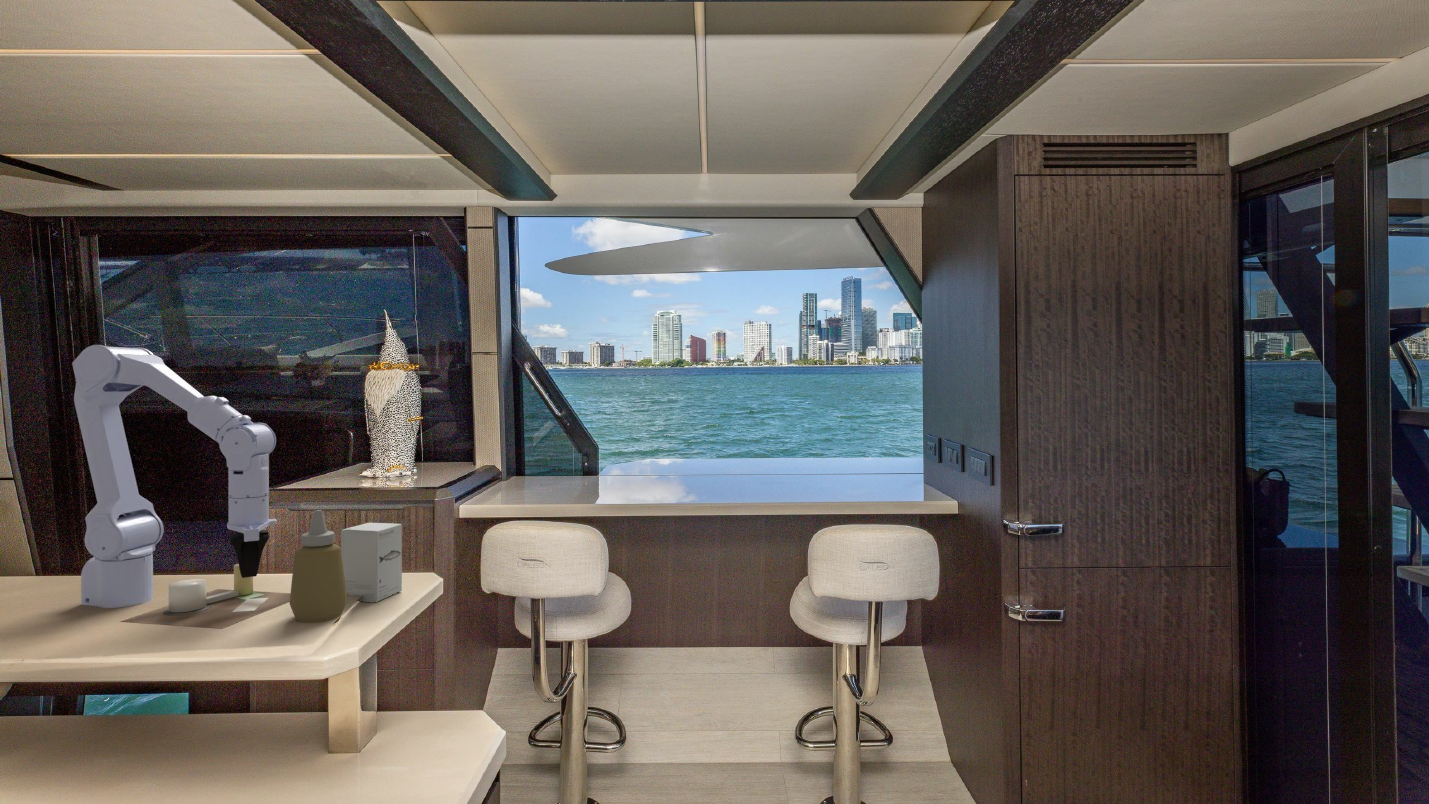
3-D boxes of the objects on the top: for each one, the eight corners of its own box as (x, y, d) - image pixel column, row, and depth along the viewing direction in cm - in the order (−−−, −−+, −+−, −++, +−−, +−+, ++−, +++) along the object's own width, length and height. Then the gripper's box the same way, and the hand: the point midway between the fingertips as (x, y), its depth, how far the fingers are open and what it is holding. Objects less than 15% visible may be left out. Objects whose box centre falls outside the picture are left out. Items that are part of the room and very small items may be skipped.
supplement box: (377, 603, 127) (376, 531, 126) (339, 600, 128) (339, 529, 128) (403, 591, 134) (403, 523, 133) (367, 589, 135) (367, 521, 135)
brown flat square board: (120, 629, 113) (120, 620, 113) (218, 595, 131) (218, 588, 130) (222, 636, 110) (222, 627, 110) (308, 601, 128) (308, 593, 128)
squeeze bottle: (358, 618, 118) (358, 508, 118) (317, 634, 111) (316, 516, 110) (320, 613, 121) (319, 505, 121) (277, 628, 113) (276, 513, 113)
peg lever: (180, 614, 115) (180, 582, 115) (161, 609, 118) (161, 578, 117) (260, 593, 127) (260, 564, 127) (242, 589, 129) (242, 561, 129)
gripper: (280, 499, 119) (280, 582, 119) (272, 488, 131) (272, 563, 131) (228, 503, 115) (229, 589, 115) (225, 491, 126) (225, 569, 127)
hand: (249, 576), depth 123 cm, fingers closed
